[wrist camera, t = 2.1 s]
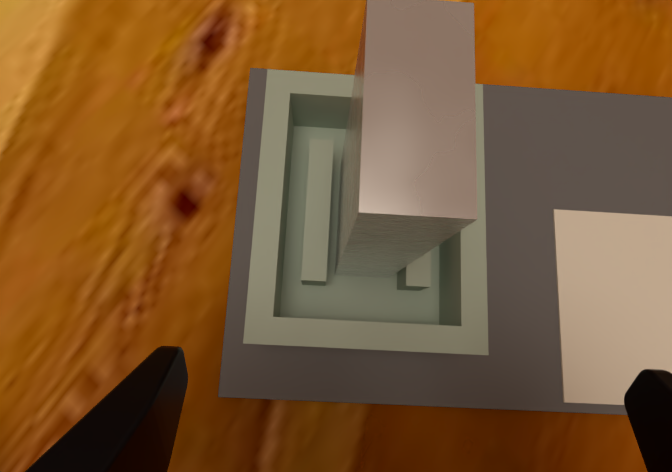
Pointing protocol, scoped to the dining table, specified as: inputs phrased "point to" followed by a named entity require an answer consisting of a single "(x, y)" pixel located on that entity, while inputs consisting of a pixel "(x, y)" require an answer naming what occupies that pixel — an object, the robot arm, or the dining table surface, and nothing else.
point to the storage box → (321, 233)
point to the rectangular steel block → (408, 136)
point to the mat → (513, 267)
